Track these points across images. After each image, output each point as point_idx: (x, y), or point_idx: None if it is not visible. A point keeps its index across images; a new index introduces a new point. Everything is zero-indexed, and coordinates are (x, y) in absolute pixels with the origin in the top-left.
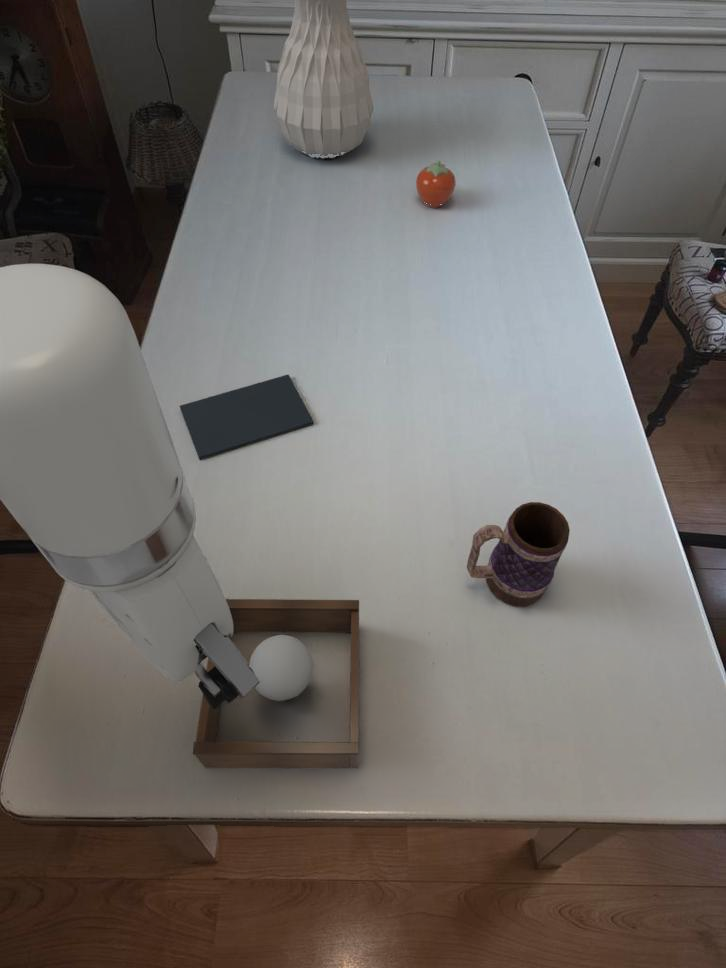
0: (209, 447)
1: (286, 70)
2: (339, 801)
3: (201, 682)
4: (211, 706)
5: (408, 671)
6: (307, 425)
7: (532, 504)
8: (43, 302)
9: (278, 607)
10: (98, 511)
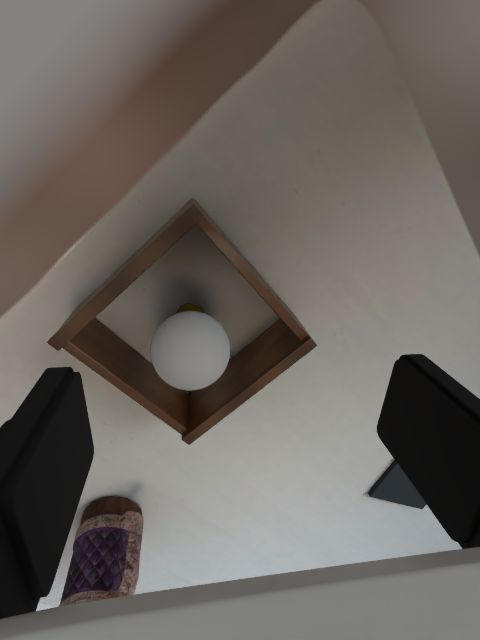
0: None
1: None
2: (59, 275)
3: (3, 503)
4: (44, 377)
5: (116, 404)
6: (371, 489)
7: None
8: None
9: (251, 386)
10: None
